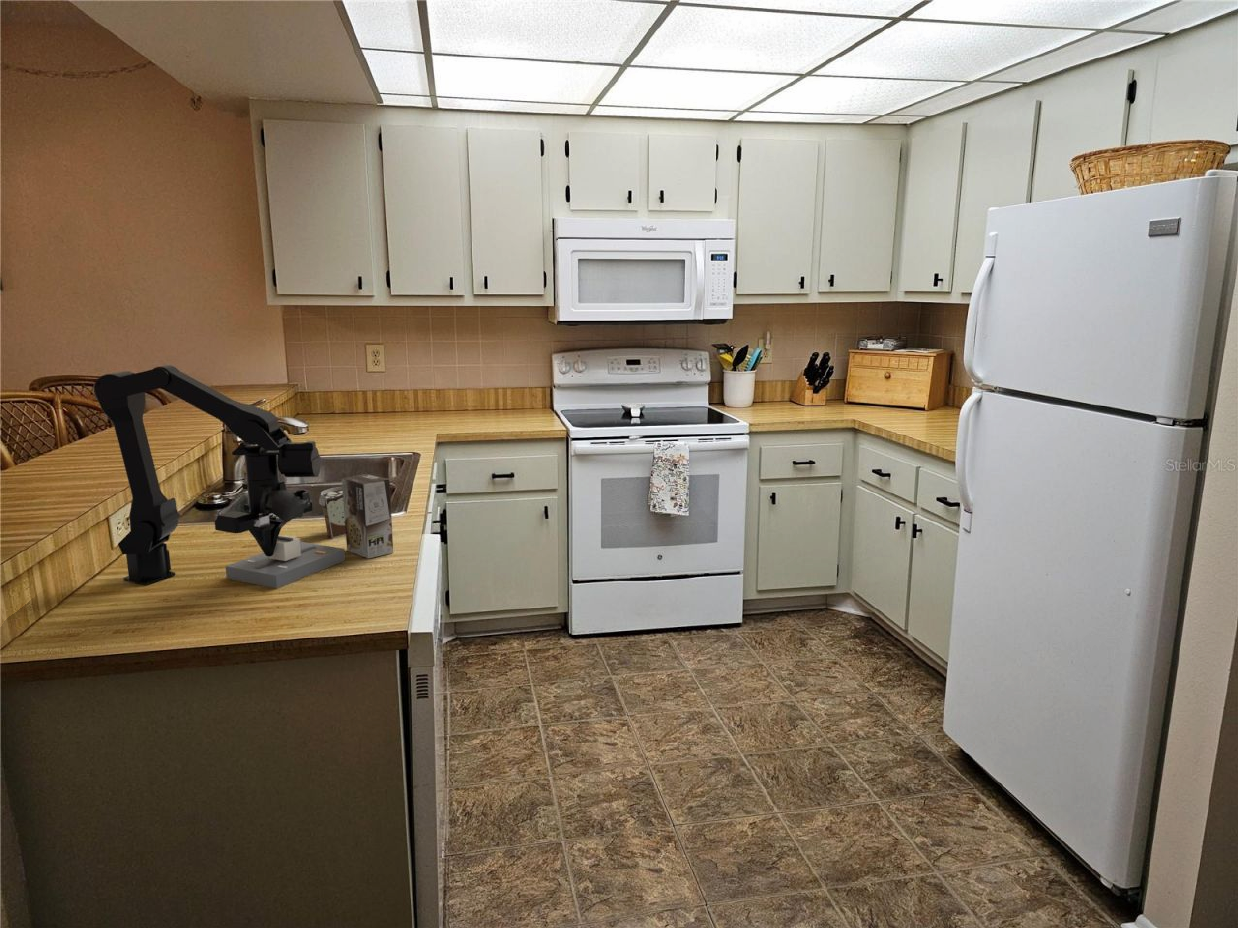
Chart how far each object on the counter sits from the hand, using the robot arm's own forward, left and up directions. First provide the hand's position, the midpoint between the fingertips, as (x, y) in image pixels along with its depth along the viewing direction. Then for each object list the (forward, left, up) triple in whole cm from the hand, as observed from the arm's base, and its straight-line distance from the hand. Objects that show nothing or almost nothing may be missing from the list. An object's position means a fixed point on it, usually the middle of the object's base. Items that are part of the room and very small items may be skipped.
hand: (269, 555), depth 157 cm
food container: (+29, +9, -4) cm, 31 cm away
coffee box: (+20, -7, -4) cm, 22 cm away
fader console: (+4, 0, -4) cm, 6 cm away
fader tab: (+4, 0, -1) cm, 4 cm away
